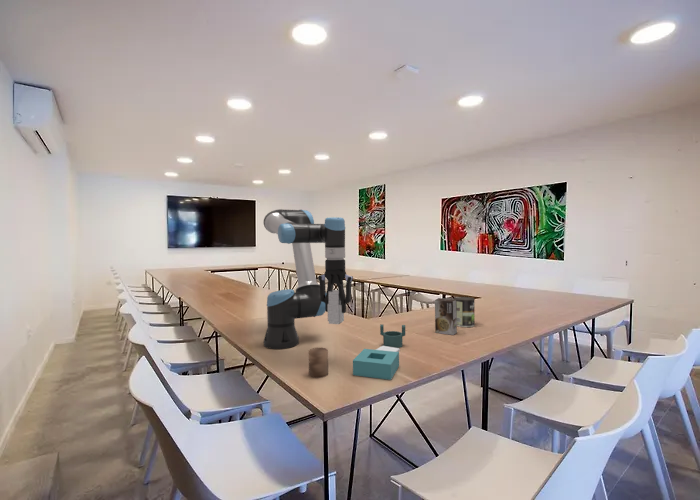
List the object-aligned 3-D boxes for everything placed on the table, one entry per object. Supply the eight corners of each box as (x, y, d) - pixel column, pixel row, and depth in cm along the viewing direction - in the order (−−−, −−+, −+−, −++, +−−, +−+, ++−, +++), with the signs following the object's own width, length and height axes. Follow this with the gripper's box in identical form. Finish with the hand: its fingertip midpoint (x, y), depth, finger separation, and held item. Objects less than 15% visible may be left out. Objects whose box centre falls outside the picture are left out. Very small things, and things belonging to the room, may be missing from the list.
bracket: (407, 346, 146) (407, 325, 146) (390, 349, 142) (389, 328, 141) (394, 341, 154) (394, 321, 154) (377, 344, 149) (377, 323, 149)
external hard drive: (399, 352, 140) (386, 361, 130) (381, 349, 144) (367, 357, 134) (399, 348, 140) (386, 357, 129) (381, 345, 144) (367, 353, 134)
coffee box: (457, 332, 167) (457, 299, 166) (453, 335, 161) (453, 301, 161) (438, 329, 172) (438, 297, 171) (434, 332, 166) (434, 299, 166)
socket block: (352, 375, 115) (352, 360, 115) (364, 362, 128) (364, 348, 128) (391, 379, 111) (390, 364, 111) (399, 365, 123) (399, 352, 123)
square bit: (328, 323, 128) (328, 291, 128) (332, 321, 132) (332, 289, 132) (338, 324, 127) (338, 292, 127) (342, 321, 131) (342, 290, 130)
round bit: (305, 376, 115) (305, 352, 115) (314, 369, 121) (313, 346, 121) (323, 378, 113) (322, 354, 113) (331, 371, 119) (330, 348, 119)
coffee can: (476, 324, 182) (476, 297, 182) (472, 328, 174) (471, 300, 173) (457, 321, 188) (457, 296, 188) (451, 325, 179) (451, 298, 179)
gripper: (310, 259, 128) (310, 321, 129) (353, 259, 122) (354, 325, 123) (318, 258, 135) (319, 317, 136) (360, 258, 129) (360, 320, 130)
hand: (335, 320), depth 130 cm, fingers closed on square bit, 4 cm apart
